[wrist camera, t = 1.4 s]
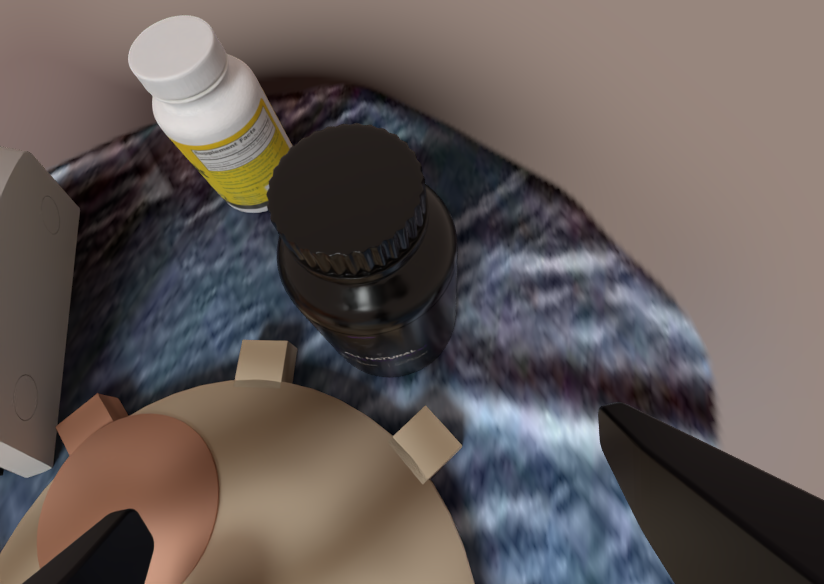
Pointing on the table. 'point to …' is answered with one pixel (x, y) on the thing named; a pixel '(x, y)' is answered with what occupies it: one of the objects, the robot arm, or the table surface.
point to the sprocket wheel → (253, 486)
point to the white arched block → (32, 308)
